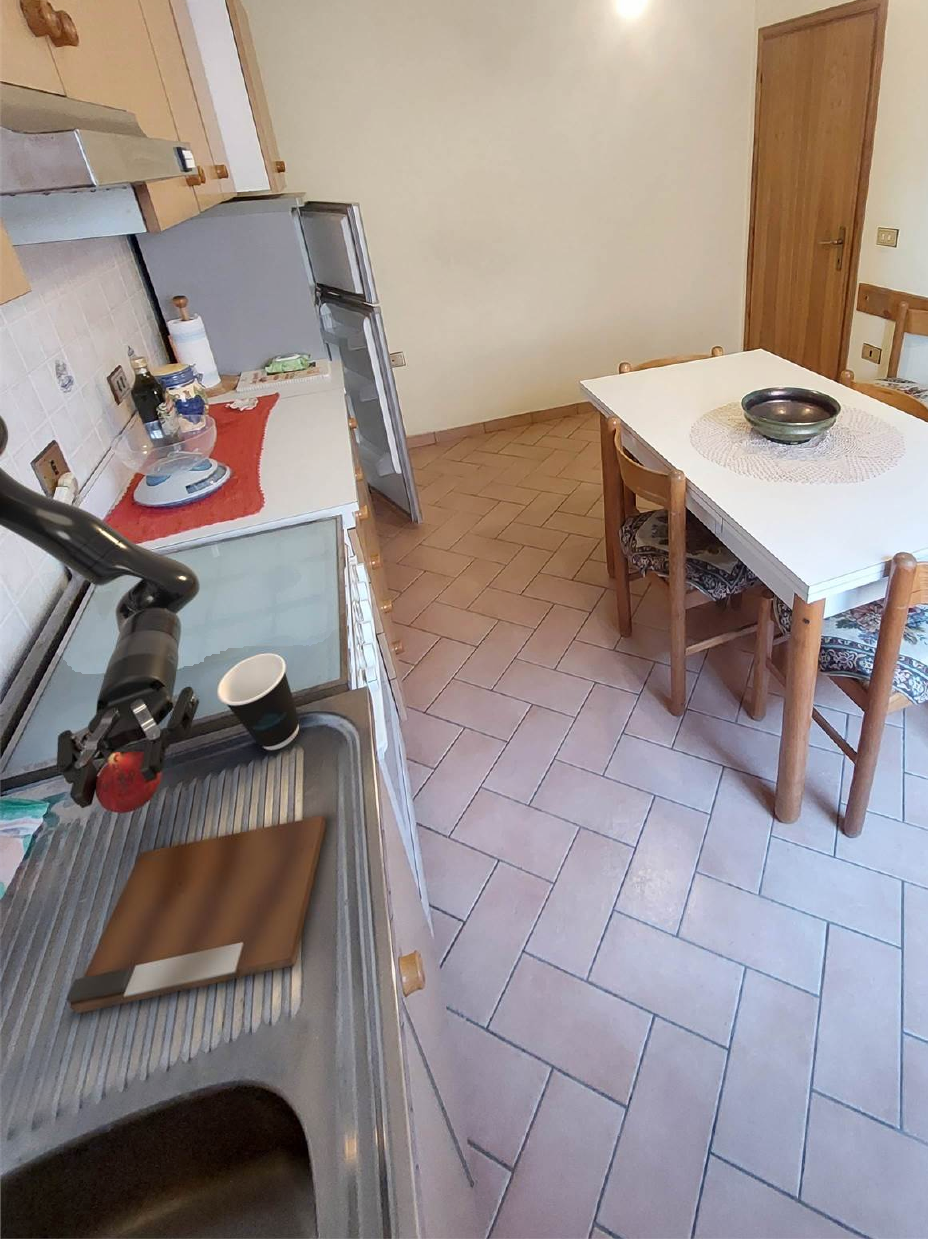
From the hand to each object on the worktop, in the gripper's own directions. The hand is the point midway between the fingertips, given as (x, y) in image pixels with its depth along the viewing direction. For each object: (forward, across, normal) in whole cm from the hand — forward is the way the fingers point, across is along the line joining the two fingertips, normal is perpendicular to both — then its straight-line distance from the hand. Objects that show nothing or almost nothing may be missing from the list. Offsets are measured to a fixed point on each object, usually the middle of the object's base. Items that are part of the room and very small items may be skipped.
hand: (115, 788), depth 67 cm
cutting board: (+10, -6, -12) cm, 16 cm away
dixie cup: (-10, -13, -12) cm, 20 cm away
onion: (-3, 0, -6) cm, 7 cm away
